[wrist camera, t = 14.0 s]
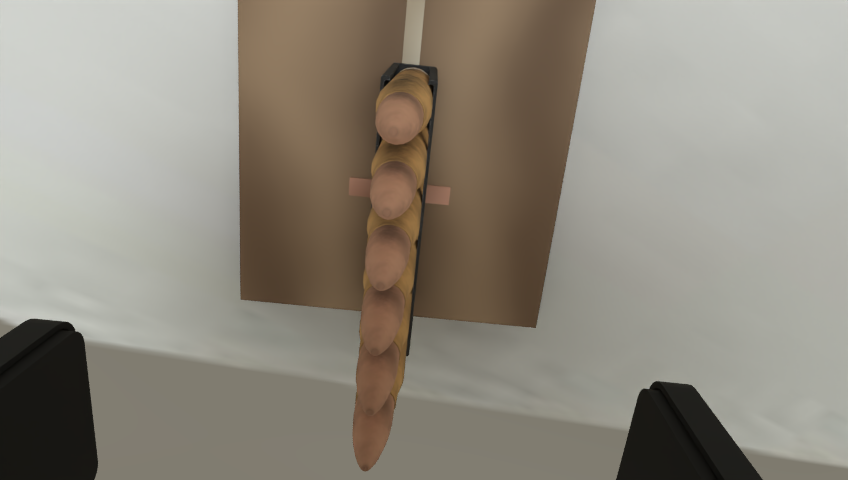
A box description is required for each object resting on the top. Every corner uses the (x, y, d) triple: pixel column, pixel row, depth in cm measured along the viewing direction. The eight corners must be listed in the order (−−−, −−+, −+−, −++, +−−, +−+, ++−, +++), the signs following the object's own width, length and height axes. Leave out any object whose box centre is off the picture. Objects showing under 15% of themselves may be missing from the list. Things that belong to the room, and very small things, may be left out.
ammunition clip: (412, 304, 26) (397, 501, 15) (373, 301, 26) (327, 494, 15) (437, 67, 23) (442, 89, 12) (392, 62, 23) (351, 80, 12)
